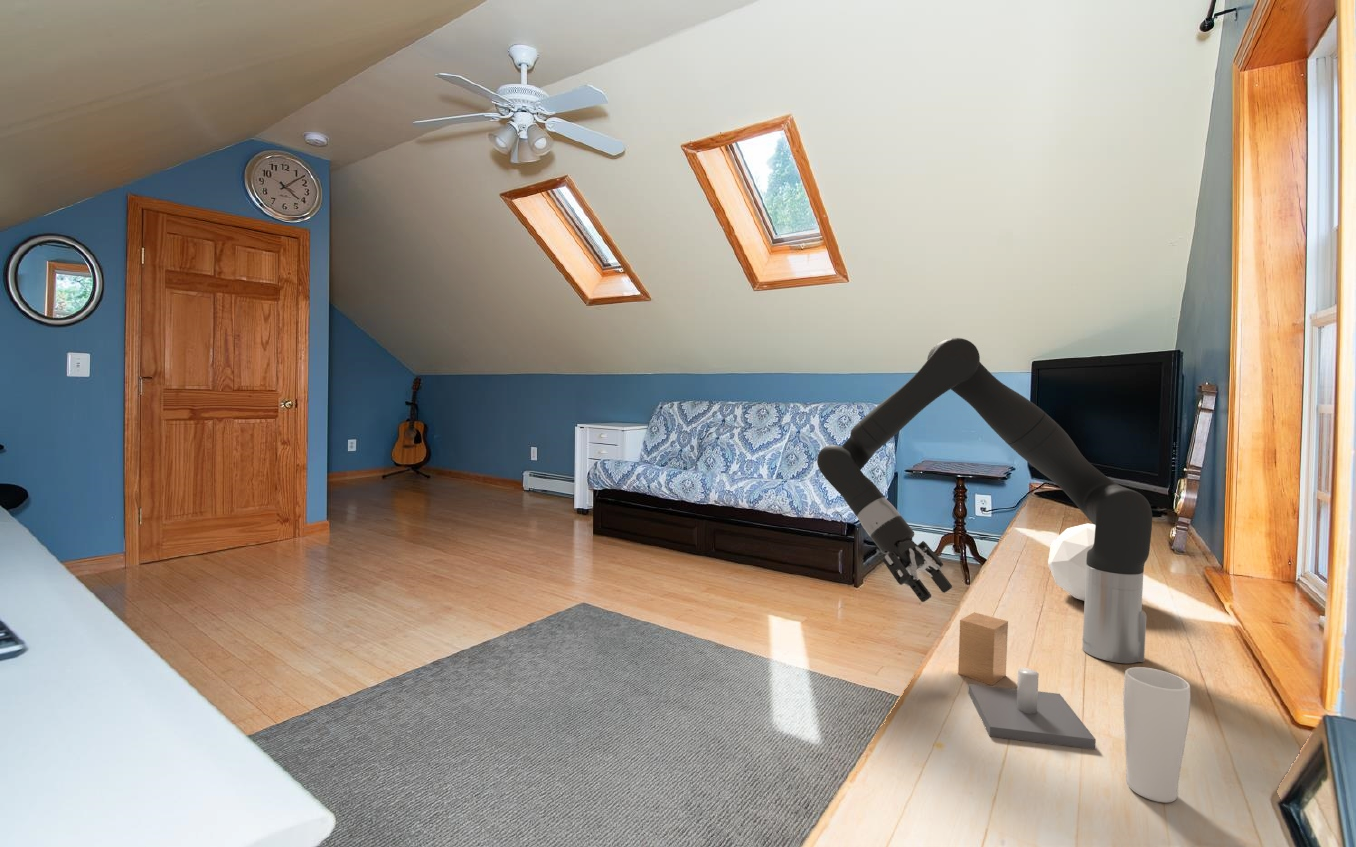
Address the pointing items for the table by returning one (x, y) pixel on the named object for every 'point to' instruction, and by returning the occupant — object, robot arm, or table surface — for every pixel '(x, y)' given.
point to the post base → (1029, 713)
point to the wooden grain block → (983, 648)
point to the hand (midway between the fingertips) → (938, 594)
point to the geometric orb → (1071, 558)
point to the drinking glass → (1155, 731)
